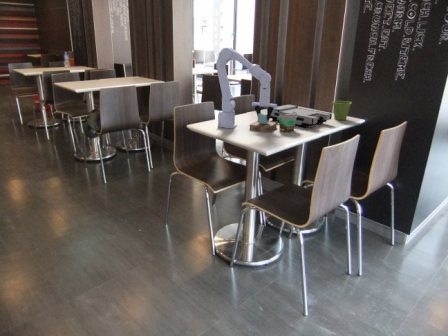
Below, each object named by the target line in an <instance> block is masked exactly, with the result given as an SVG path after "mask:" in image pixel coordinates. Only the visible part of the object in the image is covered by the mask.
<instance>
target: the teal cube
mask: <svg viewBox="0 0 448 336" xmlns="http://www.w3.org/2000/svg"><path fill="white" fill-rule="evenodd" d="M257 121H258V123H263V124H266V123H268V122H270V119H269V120H267V112H261V113H259V114H258V117H257Z"/></svg>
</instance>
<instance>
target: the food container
mask: <svg viewBox="0 0 448 336" xmlns="http://www.w3.org/2000/svg"><path fill="white" fill-rule="evenodd" d="M296 118H297V113H296V112H293V113H292V114H285V115H283V114H279V122H278V123H279V124H278V125H279V132H280V133H293V132H294V131H295V129H296V128H295V127H296V126H295V122H296Z"/></svg>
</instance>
